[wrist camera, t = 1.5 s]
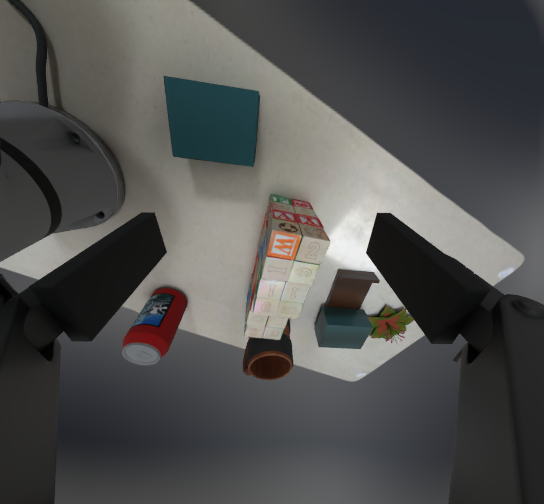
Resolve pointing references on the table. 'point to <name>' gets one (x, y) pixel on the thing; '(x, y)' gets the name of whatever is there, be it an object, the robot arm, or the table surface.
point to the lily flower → (389, 324)
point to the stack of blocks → (283, 266)
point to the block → (212, 121)
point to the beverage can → (154, 327)
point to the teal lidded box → (345, 311)
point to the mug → (269, 356)
